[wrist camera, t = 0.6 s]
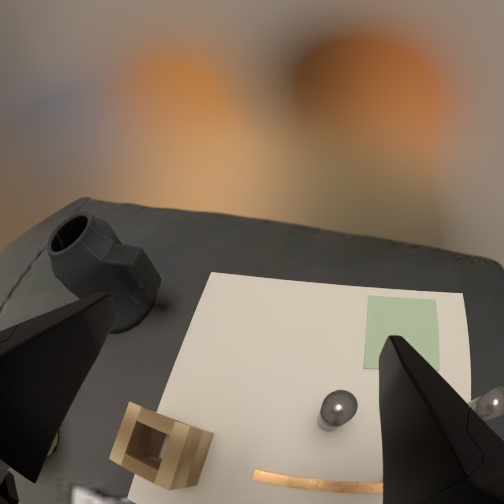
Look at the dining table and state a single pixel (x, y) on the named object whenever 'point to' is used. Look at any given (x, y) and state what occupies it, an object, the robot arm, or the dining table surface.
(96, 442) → the dining table surface
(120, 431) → the oak open box
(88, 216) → the dark grey holder
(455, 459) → the robot arm
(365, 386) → the course mat
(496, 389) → the wire and posts
